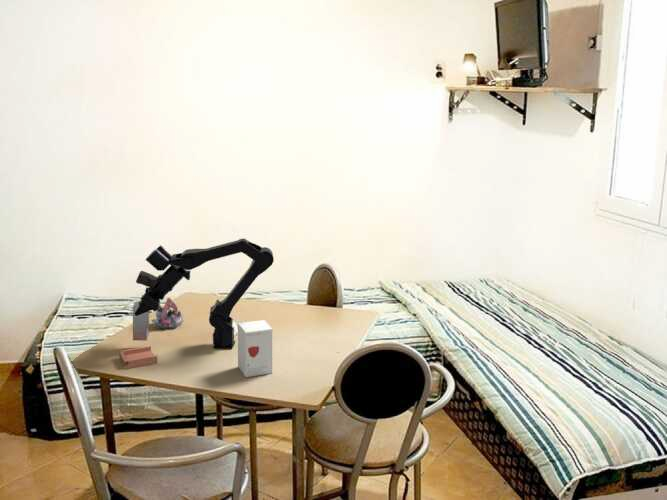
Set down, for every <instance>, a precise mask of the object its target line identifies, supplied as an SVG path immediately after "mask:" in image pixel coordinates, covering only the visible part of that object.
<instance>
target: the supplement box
mask: <svg viewBox="0 0 667 500" xmlns="http://www.w3.org/2000/svg"><path fill="white" fill-rule="evenodd" d="M237 367H238V368H239V369H240V371H241V373H242V374H243V376H244V377H245V378H249V377H257V376H264V375H270V374H273V328H272V327H271V326H270V325H269V324H268V323H267V321H266V320H265V319H263V320H262V319H261V320H254V321H247V322H239V323H237Z"/></svg>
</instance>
